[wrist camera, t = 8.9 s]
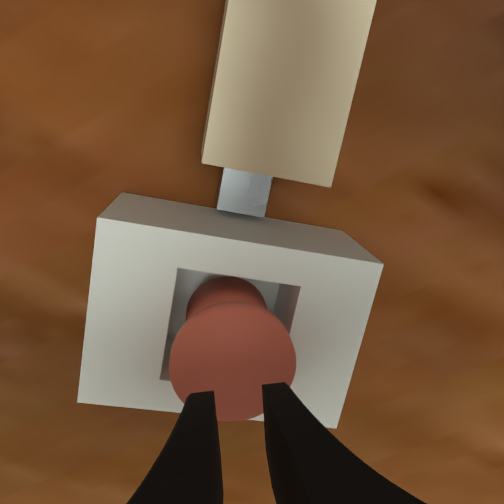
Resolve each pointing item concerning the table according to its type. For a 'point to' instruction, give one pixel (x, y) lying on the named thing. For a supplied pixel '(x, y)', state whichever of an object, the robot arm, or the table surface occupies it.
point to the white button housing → (209, 267)
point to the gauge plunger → (230, 348)
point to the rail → (243, 192)
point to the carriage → (285, 86)
